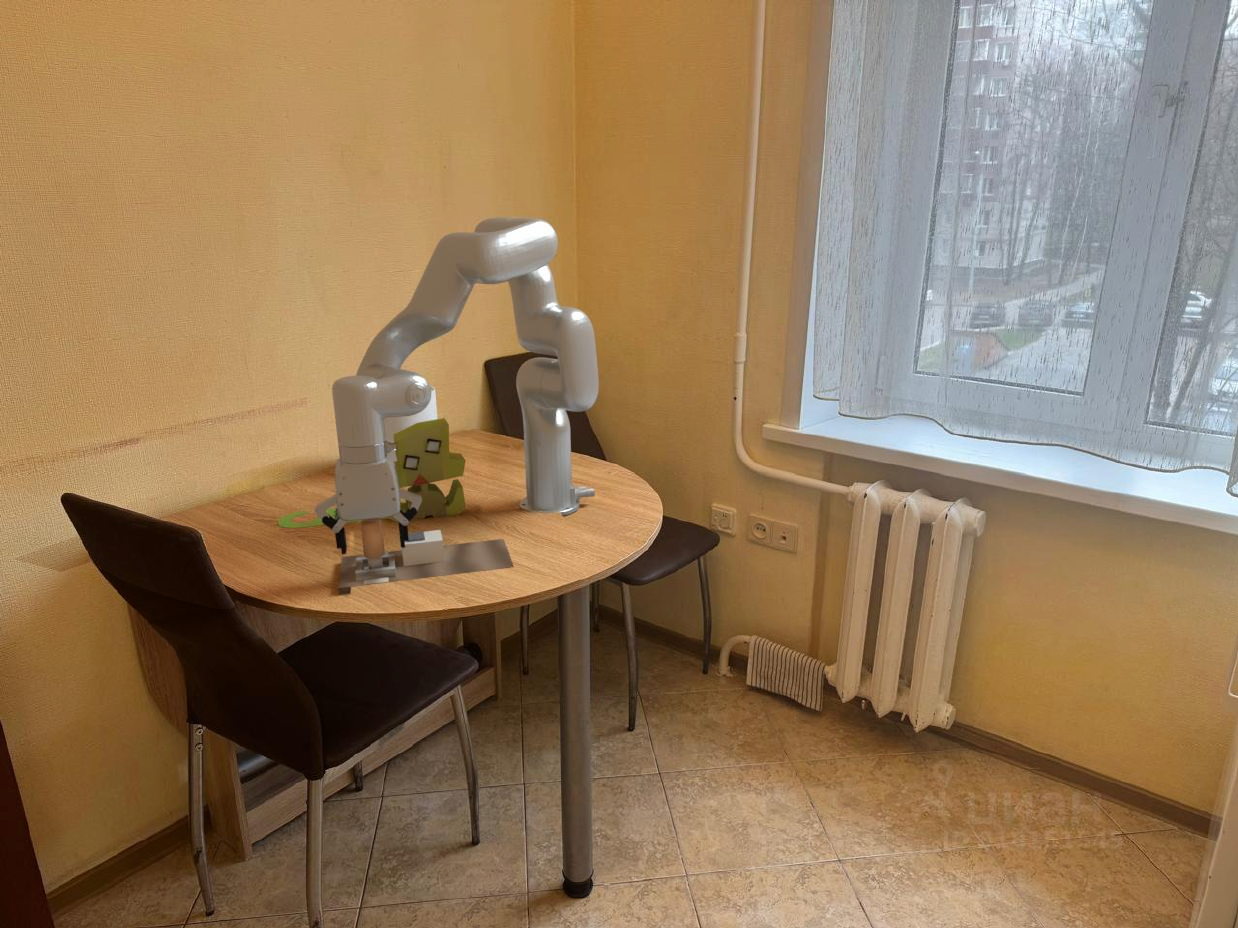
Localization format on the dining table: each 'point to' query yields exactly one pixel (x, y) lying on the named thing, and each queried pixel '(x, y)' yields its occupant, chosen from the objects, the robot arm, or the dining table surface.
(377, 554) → the tan rounded cylinder
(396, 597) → the dining table surface
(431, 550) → the block
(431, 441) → the toy
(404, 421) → the canister
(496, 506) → the dining table surface
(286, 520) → the door hanger
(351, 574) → the panel
